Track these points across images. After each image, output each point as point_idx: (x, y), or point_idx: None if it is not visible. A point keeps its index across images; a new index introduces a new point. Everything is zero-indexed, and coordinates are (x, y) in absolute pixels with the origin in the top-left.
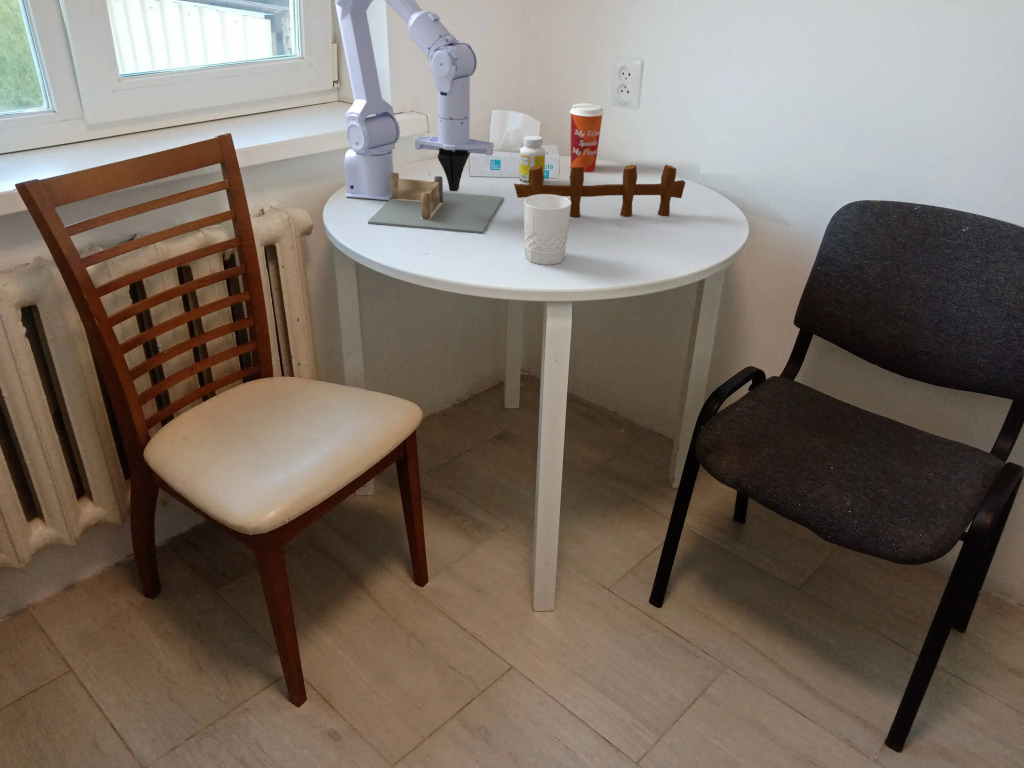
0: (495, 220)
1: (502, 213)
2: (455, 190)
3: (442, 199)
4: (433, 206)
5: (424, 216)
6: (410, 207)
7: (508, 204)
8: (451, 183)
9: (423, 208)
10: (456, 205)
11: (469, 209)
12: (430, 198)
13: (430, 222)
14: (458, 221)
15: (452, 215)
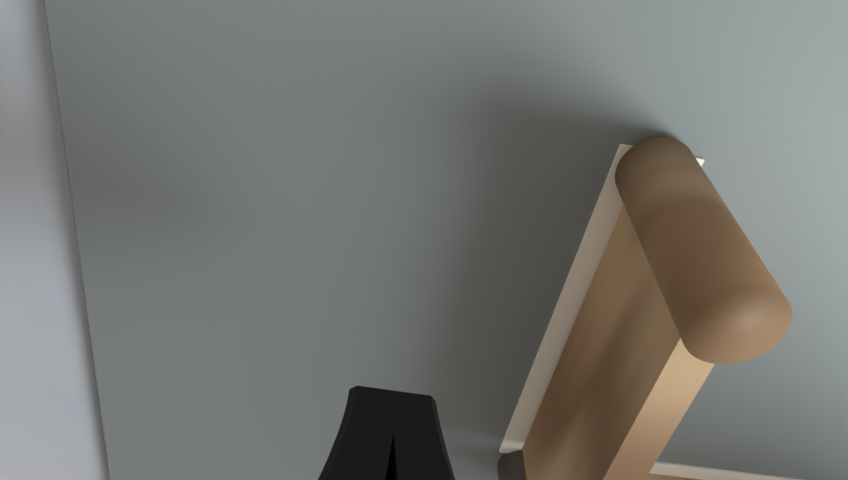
0: (37, 190)
1: (38, 328)
2: (362, 394)
3: (501, 476)
4: (578, 344)
5: (679, 146)
6: (743, 374)
7: (59, 464)
8: (407, 462)
9: (712, 193)
10: None
11: (292, 360)
12: (633, 351)
13: (620, 61)
14: (344, 105)
15: (413, 242)
